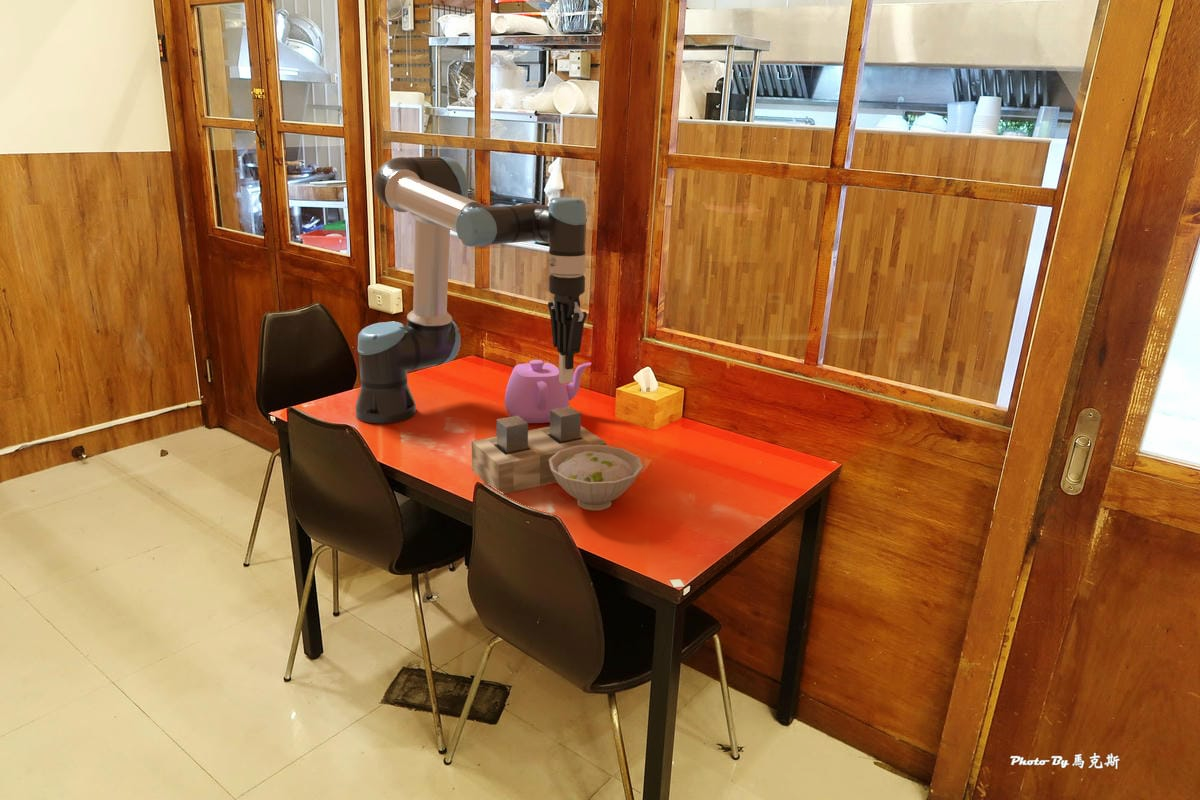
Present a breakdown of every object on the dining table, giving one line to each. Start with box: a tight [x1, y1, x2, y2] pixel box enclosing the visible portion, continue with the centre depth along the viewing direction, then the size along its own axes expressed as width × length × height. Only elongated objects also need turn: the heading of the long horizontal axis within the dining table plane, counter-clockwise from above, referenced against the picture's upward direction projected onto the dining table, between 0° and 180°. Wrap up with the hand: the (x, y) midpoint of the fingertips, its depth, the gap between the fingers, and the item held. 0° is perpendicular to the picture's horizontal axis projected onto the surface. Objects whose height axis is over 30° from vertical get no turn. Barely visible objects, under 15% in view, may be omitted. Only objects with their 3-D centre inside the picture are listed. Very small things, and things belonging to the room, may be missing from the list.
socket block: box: [471, 425, 607, 495], centre depth 176 cm, size 14×26×7 cm, turn 121°
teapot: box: [504, 359, 592, 424], centre depth 206 cm, size 23×21×15 cm
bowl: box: [549, 445, 644, 511], centre depth 162 cm, size 19×19×10 cm
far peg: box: [549, 405, 582, 444], centre depth 177 cm, size 5×5×6 cm
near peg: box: [496, 416, 529, 455], centre depth 171 cm, size 5×5×6 cm
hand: (566, 381), depth 174 cm, fingers closed
